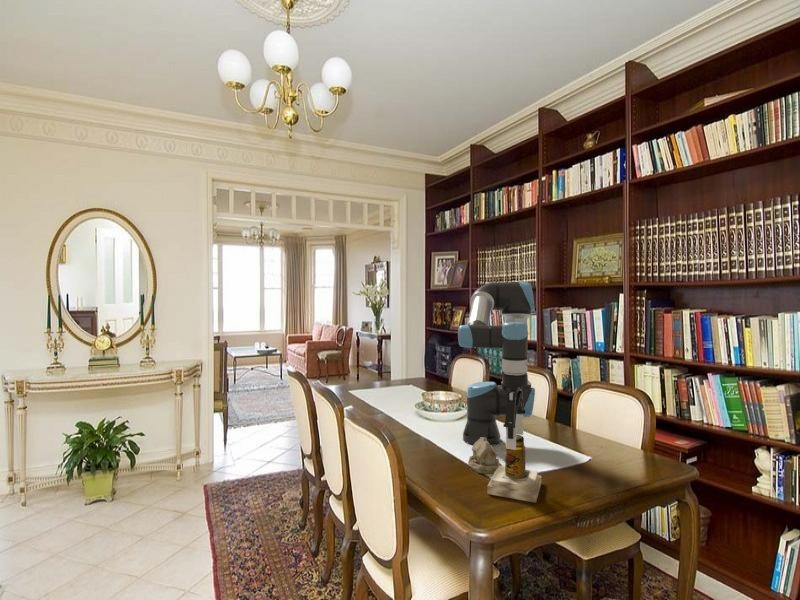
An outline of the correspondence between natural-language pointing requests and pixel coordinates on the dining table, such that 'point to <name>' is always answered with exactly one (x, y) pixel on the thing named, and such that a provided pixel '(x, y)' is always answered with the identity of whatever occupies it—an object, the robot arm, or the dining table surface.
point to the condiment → (516, 461)
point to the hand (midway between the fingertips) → (515, 441)
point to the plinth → (515, 492)
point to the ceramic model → (483, 457)
